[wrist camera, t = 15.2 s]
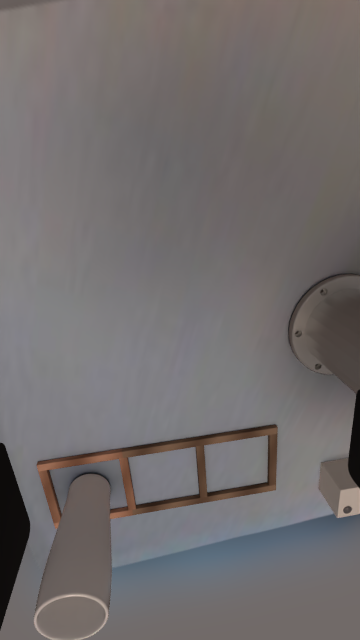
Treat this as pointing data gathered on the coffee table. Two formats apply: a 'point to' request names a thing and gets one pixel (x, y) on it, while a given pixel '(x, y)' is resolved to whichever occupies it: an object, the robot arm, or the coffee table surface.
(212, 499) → the copper window frame
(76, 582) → the drinking glass
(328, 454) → the coffee table surface
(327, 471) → the die
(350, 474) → the robot arm
